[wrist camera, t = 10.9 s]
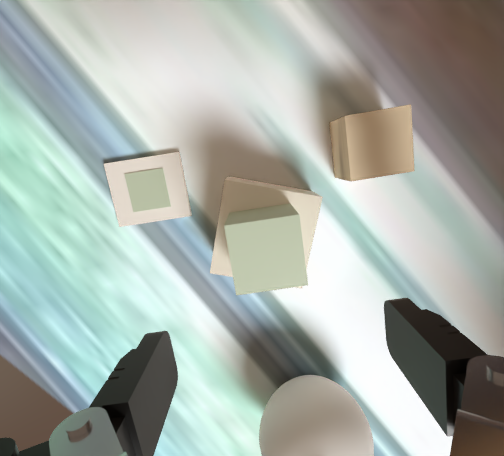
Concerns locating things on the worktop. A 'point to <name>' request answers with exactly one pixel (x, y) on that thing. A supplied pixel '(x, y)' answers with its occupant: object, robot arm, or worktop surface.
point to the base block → (258, 196)
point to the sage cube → (266, 249)
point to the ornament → (314, 421)
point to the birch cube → (373, 144)
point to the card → (148, 189)
